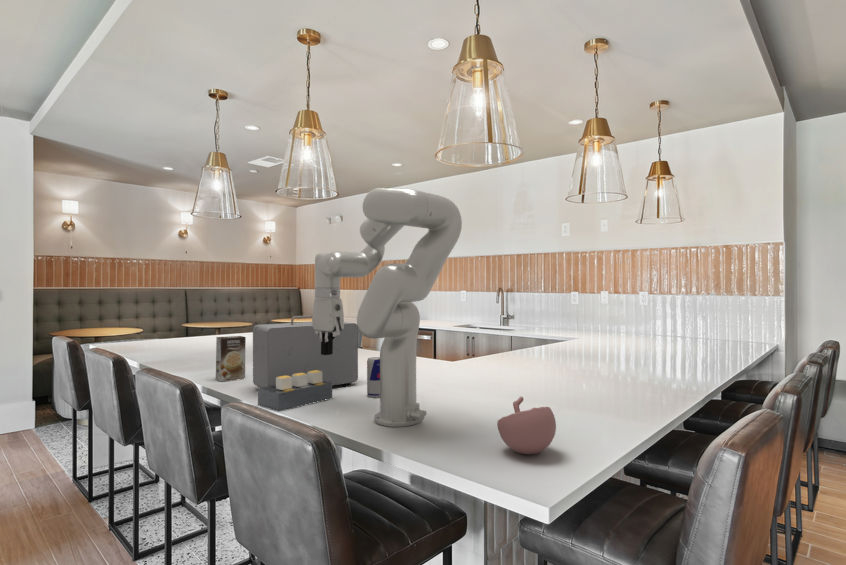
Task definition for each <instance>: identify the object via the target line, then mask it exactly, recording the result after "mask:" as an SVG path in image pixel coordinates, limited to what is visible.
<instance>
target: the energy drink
mask: <svg viewBox="0 0 846 565" xmlns="http://www.w3.org/2000/svg"><path fill="white" fill-rule="evenodd" d="M366 395H367V397H368V398H373V399H374V398H375V399H376V398H378V397H379V398H380V356H373V357H368V358H367V360H366ZM379 398H378V399H379Z"/></svg>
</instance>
